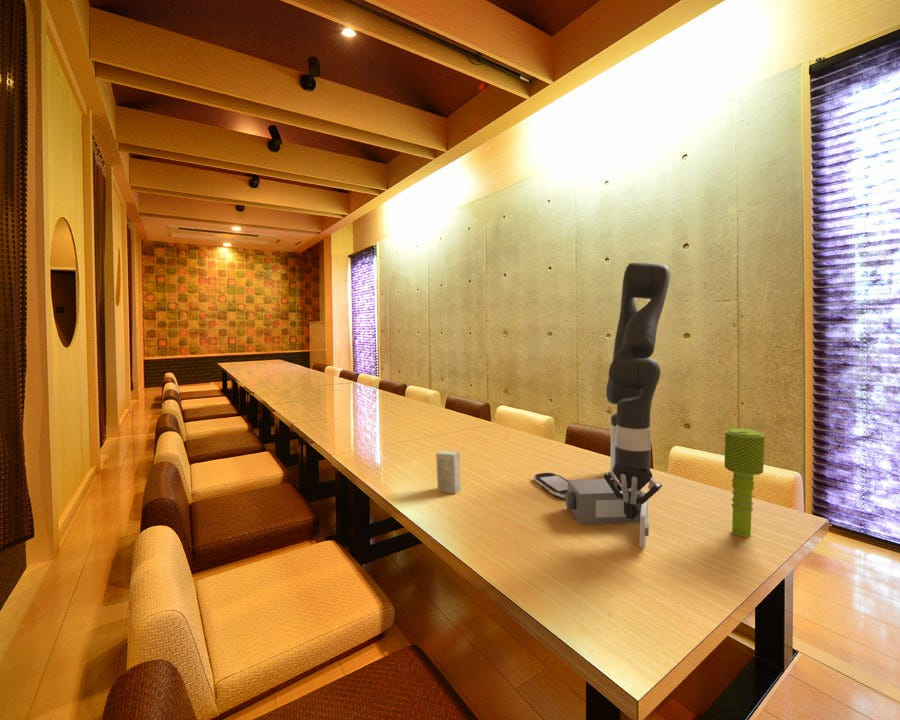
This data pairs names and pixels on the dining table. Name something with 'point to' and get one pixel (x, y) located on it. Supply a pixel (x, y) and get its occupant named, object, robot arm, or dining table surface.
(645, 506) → the side door
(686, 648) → the dining table surface
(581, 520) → the box
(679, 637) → the dining table surface
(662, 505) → the dining table surface
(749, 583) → the dining table surface
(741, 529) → the green knurled bolt
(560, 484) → the gaming console
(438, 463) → the skincare box
